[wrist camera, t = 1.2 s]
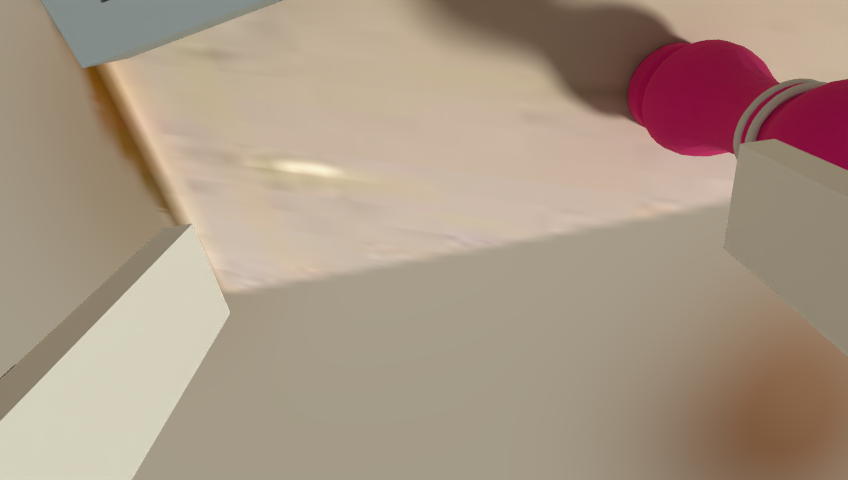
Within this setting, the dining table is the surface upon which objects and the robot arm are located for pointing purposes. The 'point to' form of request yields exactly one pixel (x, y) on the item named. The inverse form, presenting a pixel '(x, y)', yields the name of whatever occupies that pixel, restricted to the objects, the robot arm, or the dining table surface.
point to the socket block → (137, 23)
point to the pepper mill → (734, 103)
